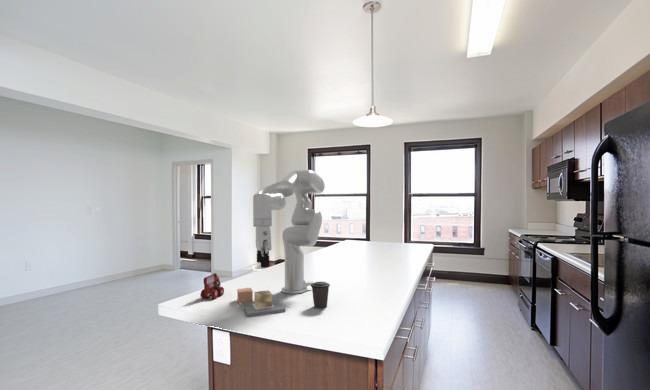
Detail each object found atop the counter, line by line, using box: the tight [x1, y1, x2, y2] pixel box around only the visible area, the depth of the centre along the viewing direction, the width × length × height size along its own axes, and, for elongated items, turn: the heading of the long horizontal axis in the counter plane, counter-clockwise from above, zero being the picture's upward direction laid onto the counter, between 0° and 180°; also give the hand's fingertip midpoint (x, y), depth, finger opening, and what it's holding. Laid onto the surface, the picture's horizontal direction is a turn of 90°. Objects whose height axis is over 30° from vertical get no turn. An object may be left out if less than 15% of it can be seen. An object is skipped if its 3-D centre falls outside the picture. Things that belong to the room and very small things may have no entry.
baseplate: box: [241, 297, 286, 318], centre depth 130 cm, size 15×15×1 cm
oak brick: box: [253, 289, 273, 308], centre depth 131 cm, size 6×6×5 cm
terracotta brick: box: [236, 287, 254, 305], centre depth 141 cm, size 6×6×5 cm
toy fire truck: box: [200, 272, 225, 300], centre depth 148 cm, size 7×12×10 cm, turn 168°
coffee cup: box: [310, 281, 331, 310], centre depth 132 cm, size 8×8×10 cm
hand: (262, 264), depth 131 cm, fingers open, 9 cm apart
